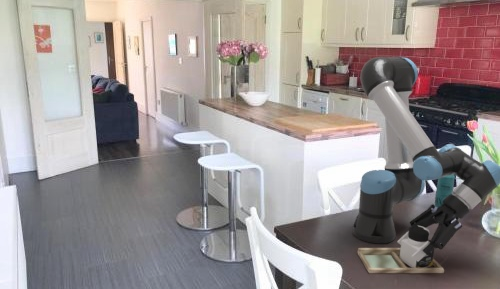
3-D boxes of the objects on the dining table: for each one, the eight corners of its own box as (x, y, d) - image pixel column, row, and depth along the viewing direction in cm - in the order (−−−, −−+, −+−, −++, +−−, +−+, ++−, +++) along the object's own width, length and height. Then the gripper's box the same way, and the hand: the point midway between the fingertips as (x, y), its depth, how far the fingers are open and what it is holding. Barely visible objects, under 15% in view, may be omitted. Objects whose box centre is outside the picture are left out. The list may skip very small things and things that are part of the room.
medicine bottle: (415, 270, 122) (419, 234, 120) (398, 259, 129) (402, 225, 126) (432, 266, 125) (437, 230, 123) (415, 255, 132) (419, 221, 129)
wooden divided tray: (368, 273, 121) (369, 267, 120) (357, 253, 133) (357, 247, 132) (443, 272, 121) (444, 267, 121) (425, 253, 133) (426, 247, 133)
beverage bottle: (431, 206, 174) (437, 162, 169) (447, 207, 173) (453, 163, 169) (436, 212, 168) (442, 166, 163) (453, 213, 167) (459, 167, 162)
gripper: (491, 223, 115) (433, 276, 116) (446, 197, 135) (398, 243, 137) (477, 207, 113) (418, 261, 114) (434, 183, 133) (384, 229, 135)
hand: (407, 251), depth 126 cm, fingers closed on medicine bottle, 8 cm apart
